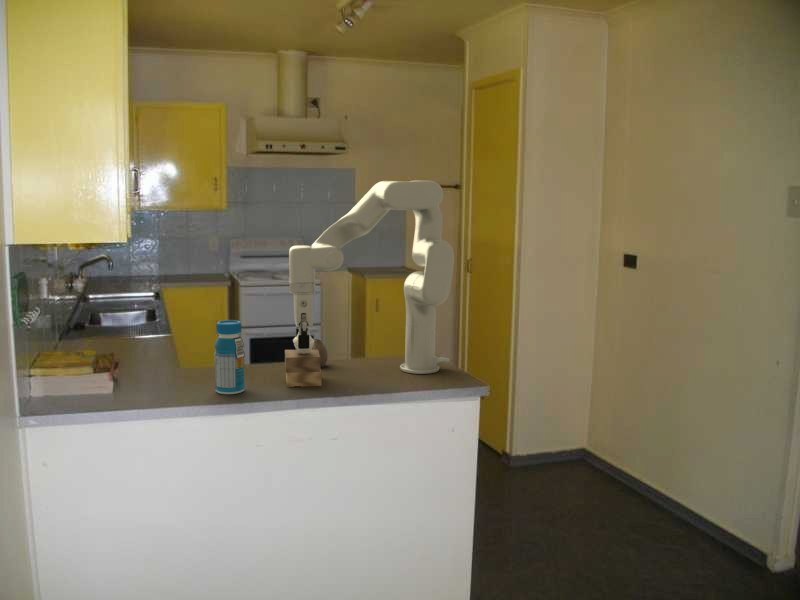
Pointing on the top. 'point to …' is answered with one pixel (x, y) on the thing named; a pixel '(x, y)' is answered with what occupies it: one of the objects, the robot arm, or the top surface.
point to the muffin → (303, 351)
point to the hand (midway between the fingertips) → (302, 344)
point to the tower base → (304, 379)
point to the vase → (321, 351)
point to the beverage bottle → (229, 358)
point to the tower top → (302, 361)
